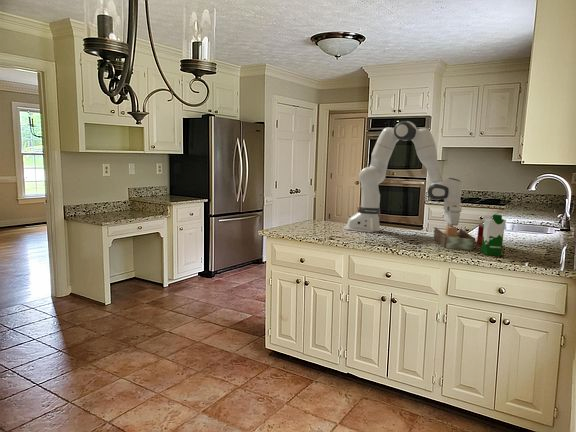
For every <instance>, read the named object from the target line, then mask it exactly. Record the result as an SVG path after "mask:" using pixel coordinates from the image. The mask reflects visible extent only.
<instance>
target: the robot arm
mask: <svg viewBox="0 0 576 432" xmlns="http://www.w3.org/2000/svg"><path fill="white" fill-rule="evenodd" d="M399 141H403V142H406V141H412V143H413V144H414V149H415V151H416V156H417V158H418V159H419V161H420V162H421V164H422V165H423V166H424V167H425V168H426V171H427V173H428V174H427V175H428V178H429V181H430V186H429V187H428V188H427V195H428V196H429V198H430V199H431V200H435V201H439V200H443V210H444V212H443V221H444V222H446V224H447V226H449V227H457V226H459V223H460V216H461V213H462V207H461V203H462V200H461V197H462V194H463V183H462V181H461V180H460V179H458V178H454V177H448V178H446V179H444V180H443V179H442V176H441V173H440V172H441V171H440V169H439V164H438V151H437V145H436V142H435V138H434V136H433V134H432V132H431V130H430V129H428V128H426V127H425V128H418V126H417V125H416V124H415V123H414V122H412V121H410V120H409V121H408V120H407V121H405V120H404V121H403V120H402V121H399V122H398V123H396V124H395V126H394V127H389V126H387V127H385V128H384V129H382V130H381V133H380V134H379V136H378V138H377V140H376V142H375V144H374V147H373V149H372V152H371V157H370V158H371V159H370V164H369V166H367V167H364V168H362V169H361V170H360V171H359V174H358V180H359V182H360V187H361V205H358V206H357V207H356V209H357V212H356V213H355V214H353V215H351V216H350V217H349V218H348V220H347V224H345V225H344V226H343V229H344V230H346V231H347V230H348V231H353V232H363V233H373V232H374V233H375V232H379V231H381V227H380V226H381V225H380V214H381V208H380V203H381V193H380V189H379V184H381V183H383V182H384V180H385V179H386V176H387V174H386V173H387V170H388V165H389V161H390V159H391V157H392V154H393V151H394V150H395V147H396V144H397V143H398V142H399Z"/></svg>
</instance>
